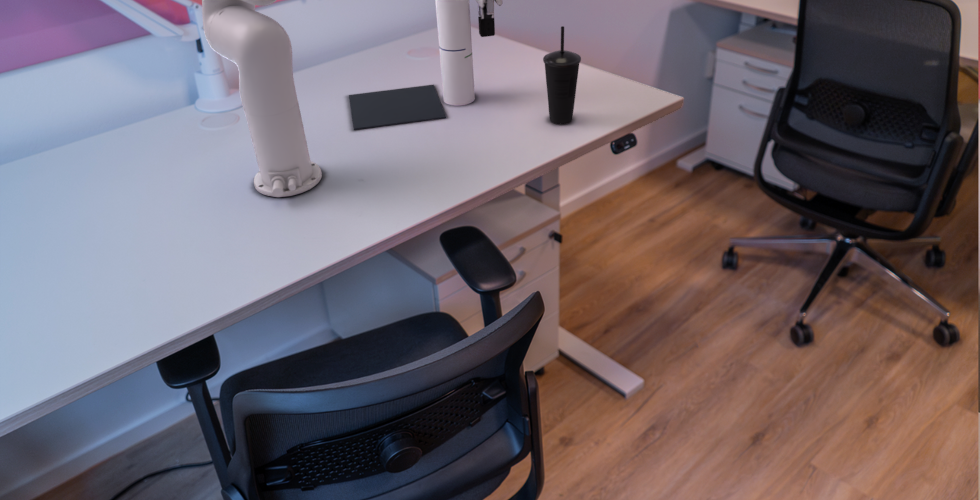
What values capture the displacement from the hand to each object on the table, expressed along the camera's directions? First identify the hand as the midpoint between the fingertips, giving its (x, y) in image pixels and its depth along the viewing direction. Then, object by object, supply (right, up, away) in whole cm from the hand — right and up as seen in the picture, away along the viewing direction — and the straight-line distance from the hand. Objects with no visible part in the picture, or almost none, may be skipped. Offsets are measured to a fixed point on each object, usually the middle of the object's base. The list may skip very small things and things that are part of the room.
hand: (487, 35), depth 159 cm
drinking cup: (+16, -19, -3) cm, 25 cm away
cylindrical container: (-6, -13, +7) cm, 16 cm away
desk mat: (-21, -15, +5) cm, 26 cm away
